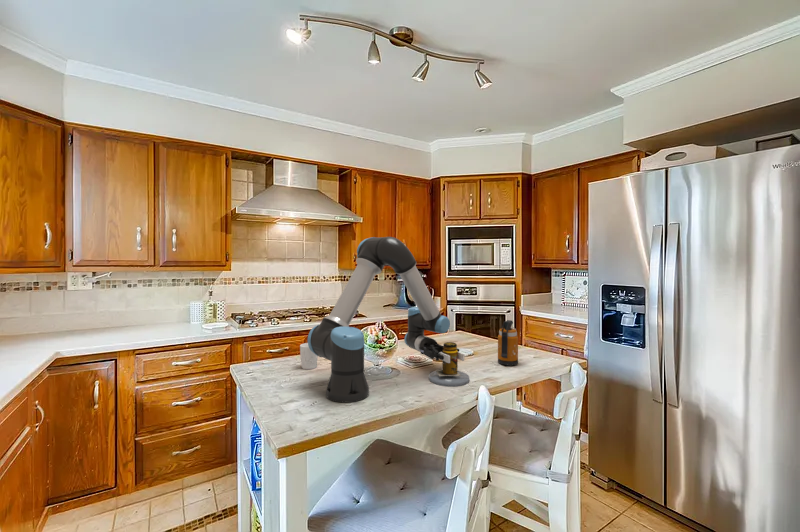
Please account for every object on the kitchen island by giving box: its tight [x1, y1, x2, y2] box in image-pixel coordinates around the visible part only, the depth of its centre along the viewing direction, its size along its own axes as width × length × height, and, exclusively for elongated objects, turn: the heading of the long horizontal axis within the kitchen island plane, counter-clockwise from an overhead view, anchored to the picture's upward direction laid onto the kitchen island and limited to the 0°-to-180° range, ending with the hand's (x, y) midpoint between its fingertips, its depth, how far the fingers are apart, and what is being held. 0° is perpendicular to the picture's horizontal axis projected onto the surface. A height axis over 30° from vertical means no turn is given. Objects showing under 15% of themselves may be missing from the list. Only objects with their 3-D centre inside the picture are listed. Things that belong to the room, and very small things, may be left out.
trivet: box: [428, 370, 470, 387], centre depth 151 cm, size 16×16×2 cm
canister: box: [497, 319, 519, 367], centre depth 172 cm, size 9×11×20 cm
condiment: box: [435, 341, 460, 376], centre depth 150 cm, size 7×8×12 cm
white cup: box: [299, 342, 319, 370], centre depth 167 cm, size 8×8×10 cm
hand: (456, 358), depth 146 cm, fingers closed on condiment, 6 cm apart
